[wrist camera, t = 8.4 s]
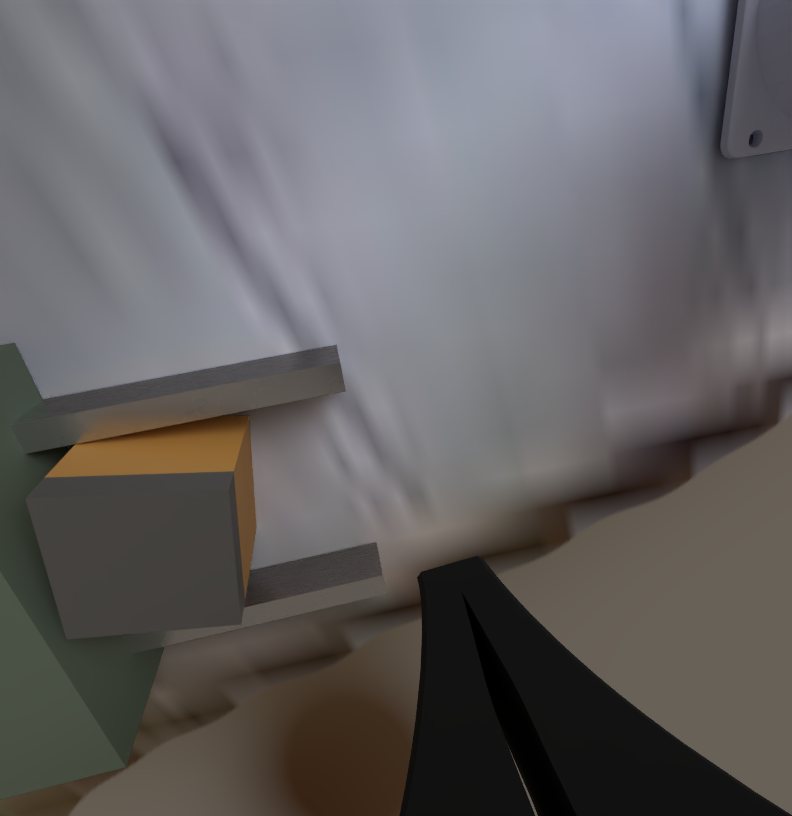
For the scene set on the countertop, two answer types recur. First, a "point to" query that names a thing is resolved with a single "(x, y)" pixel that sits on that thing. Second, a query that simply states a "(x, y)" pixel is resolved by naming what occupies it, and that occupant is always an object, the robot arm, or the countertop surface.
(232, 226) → the countertop surface
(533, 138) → the countertop surface
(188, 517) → the orange-topped grey cube
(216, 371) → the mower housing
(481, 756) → the robot arm
